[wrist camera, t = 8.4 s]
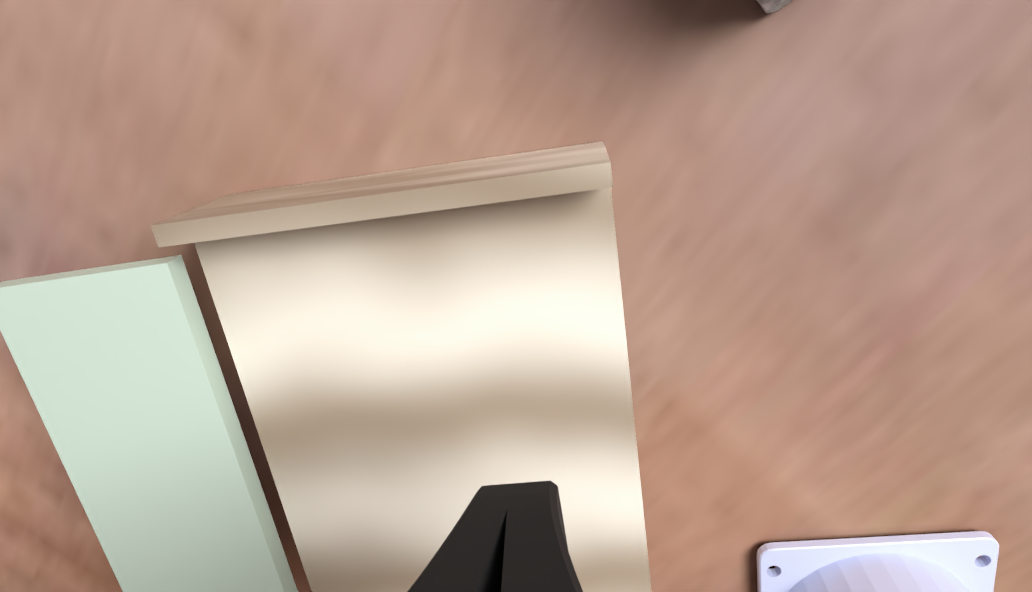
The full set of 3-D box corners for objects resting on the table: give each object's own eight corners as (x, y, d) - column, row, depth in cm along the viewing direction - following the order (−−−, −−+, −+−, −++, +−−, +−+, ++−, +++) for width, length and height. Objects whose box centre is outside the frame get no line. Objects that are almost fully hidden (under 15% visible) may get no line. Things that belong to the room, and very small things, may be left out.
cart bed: (646, 565, 24) (659, 658, 20) (348, 580, 26) (309, 669, 22) (603, 141, 19) (610, 162, 15) (228, 194, 20) (150, 225, 17)
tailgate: (296, 627, 22) (147, 644, 23) (304, 609, 23) (159, 626, 23) (167, 262, 18) (-19, 290, 18) (181, 254, 18) (3, 281, 19)
